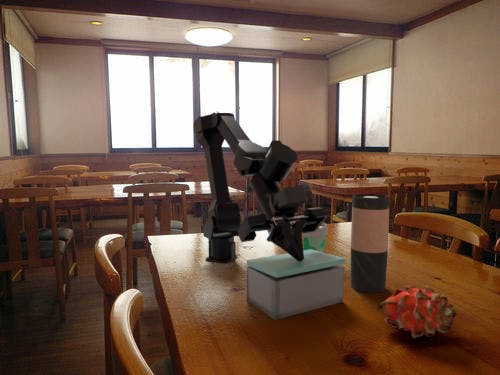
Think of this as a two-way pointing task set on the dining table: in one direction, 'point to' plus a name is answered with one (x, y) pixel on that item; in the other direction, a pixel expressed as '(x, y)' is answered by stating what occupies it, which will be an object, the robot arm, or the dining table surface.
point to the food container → (316, 239)
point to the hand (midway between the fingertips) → (301, 260)
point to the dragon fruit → (418, 311)
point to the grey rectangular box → (294, 291)
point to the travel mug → (369, 242)
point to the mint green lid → (295, 263)
